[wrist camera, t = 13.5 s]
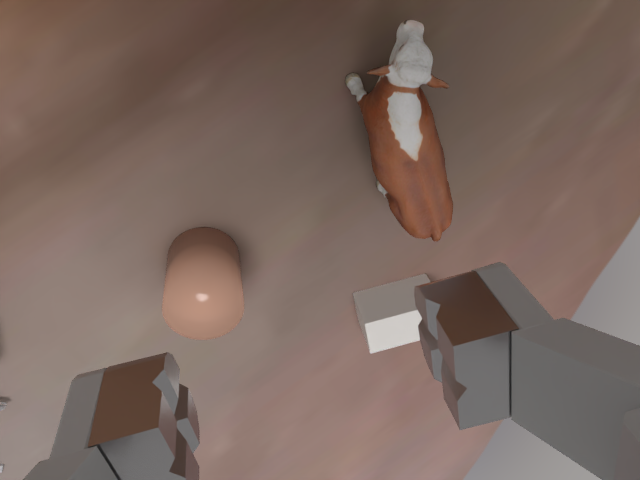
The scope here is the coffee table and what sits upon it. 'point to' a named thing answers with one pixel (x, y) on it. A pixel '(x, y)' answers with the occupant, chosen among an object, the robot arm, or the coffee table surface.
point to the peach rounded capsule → (203, 284)
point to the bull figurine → (407, 136)
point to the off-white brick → (389, 313)
